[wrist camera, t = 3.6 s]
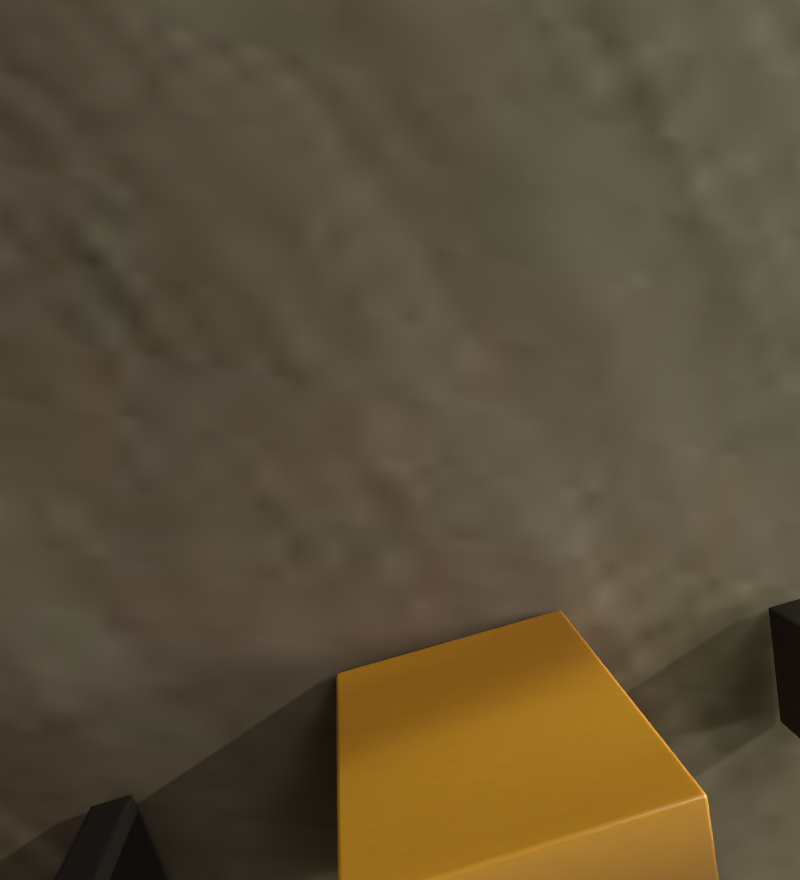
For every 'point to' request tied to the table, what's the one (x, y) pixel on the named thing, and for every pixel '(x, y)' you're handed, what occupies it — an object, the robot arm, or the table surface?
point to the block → (509, 768)
